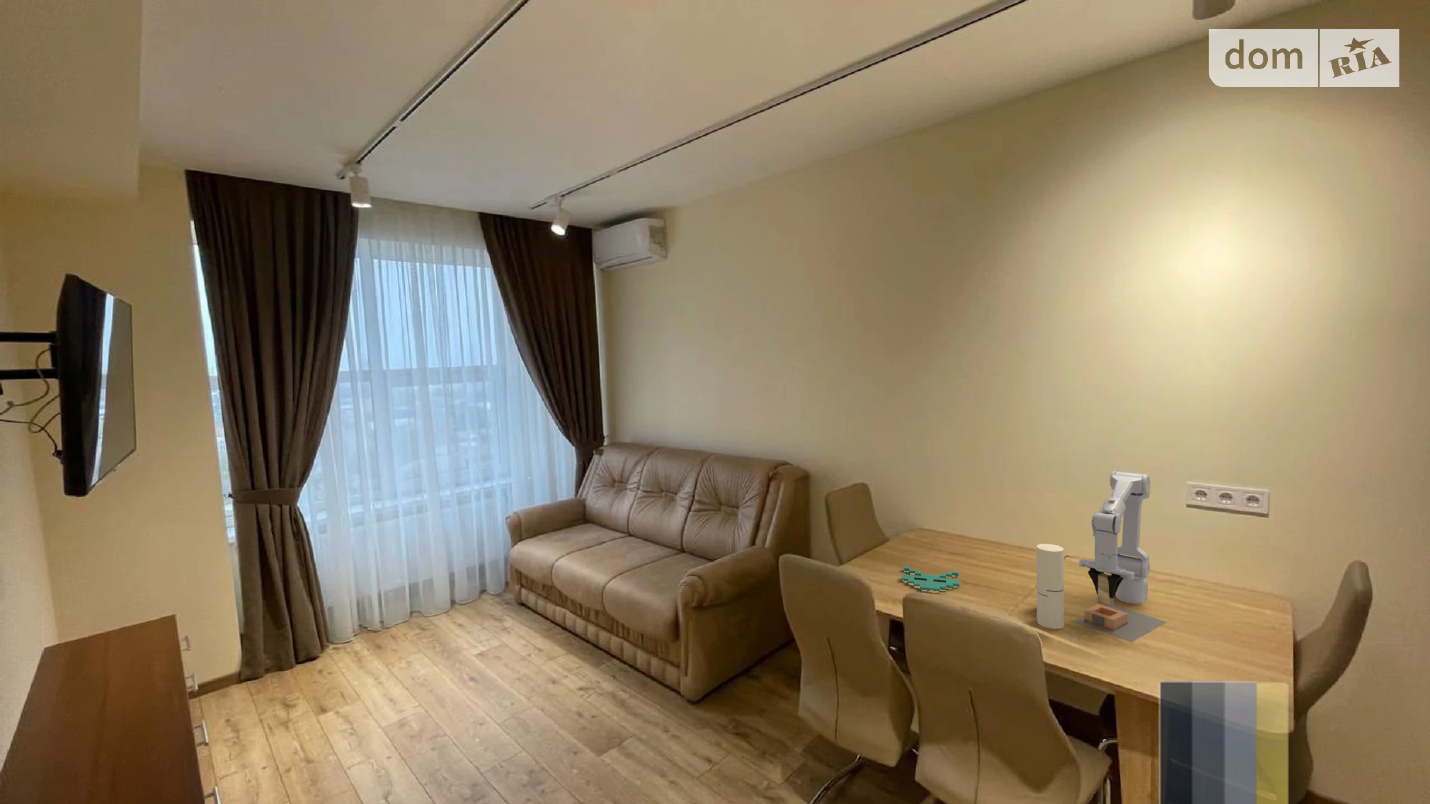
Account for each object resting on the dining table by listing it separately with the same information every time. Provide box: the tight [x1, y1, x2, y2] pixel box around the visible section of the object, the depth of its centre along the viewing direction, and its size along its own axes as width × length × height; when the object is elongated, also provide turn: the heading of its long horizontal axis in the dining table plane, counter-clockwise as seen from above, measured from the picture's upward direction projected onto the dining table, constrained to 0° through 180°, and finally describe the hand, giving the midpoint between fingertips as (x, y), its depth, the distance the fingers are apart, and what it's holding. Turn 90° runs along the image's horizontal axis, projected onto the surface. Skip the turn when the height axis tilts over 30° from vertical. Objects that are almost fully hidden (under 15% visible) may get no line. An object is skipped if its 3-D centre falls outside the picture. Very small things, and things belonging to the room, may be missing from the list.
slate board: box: [1073, 604, 1167, 643], centre depth 172 cm, size 22×16×1 cm
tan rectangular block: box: [1097, 572, 1115, 607], centre depth 171 cm, size 3×3×9 cm
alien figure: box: [901, 565, 960, 592], centre depth 211 cm, size 20×2×20 cm
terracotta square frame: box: [1083, 603, 1128, 631], centre depth 172 cm, size 9×8×3 cm
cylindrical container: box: [1036, 543, 1065, 630], centre depth 172 cm, size 7×7×25 cm
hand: (1105, 595), depth 172 cm, fingers closed on tan rectangular block, 3 cm apart
